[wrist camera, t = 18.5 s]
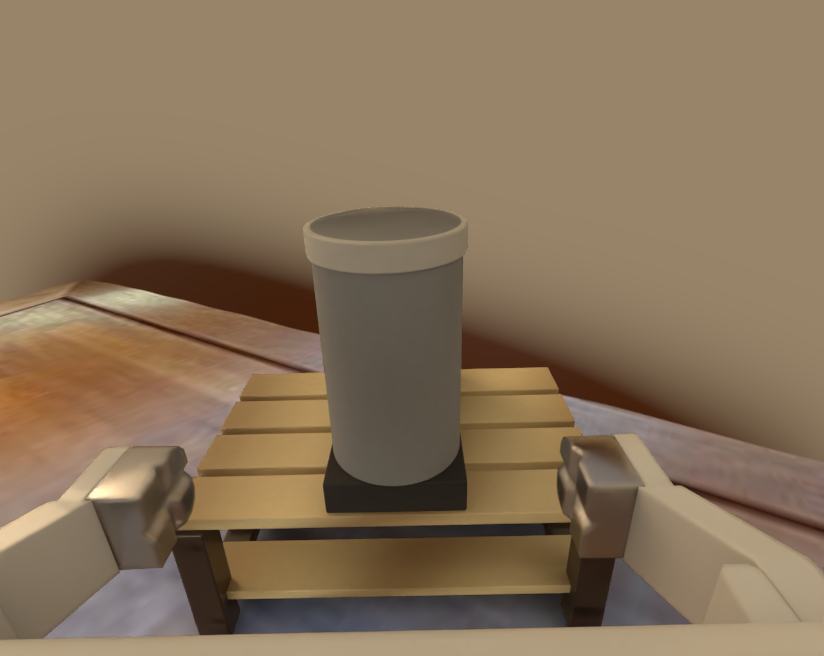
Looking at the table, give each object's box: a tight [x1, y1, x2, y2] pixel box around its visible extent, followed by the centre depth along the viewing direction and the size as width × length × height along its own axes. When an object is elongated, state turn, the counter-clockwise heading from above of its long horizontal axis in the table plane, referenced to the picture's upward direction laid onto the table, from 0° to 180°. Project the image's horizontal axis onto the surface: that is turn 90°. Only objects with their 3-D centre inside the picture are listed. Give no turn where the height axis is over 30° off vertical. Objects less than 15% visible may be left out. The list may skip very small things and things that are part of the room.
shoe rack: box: [172, 367, 615, 635], centre depth 26 cm, size 18×12×7 cm, turn 90°
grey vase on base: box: [303, 206, 468, 513], centre depth 22 cm, size 11×6×11 cm, turn 0°
